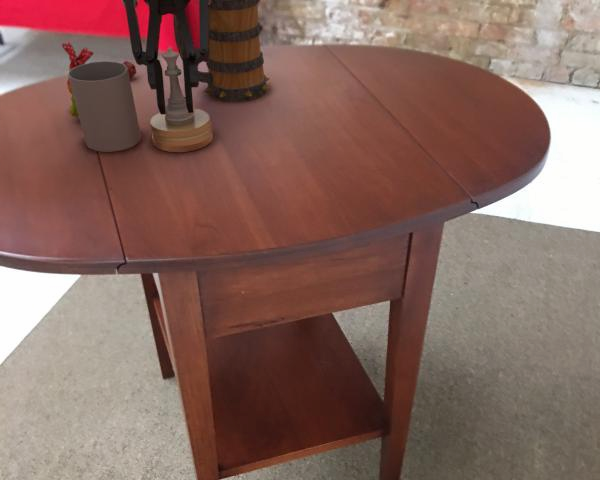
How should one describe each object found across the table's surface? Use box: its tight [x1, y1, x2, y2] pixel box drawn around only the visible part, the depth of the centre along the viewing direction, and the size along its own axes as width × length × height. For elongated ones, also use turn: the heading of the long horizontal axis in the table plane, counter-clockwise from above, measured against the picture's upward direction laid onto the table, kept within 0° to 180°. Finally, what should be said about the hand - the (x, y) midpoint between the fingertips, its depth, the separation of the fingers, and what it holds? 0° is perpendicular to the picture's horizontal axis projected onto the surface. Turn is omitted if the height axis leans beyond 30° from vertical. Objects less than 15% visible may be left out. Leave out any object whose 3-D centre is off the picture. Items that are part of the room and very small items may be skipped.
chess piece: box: [161, 46, 194, 125], centre depth 92 cm, size 4×4×10 cm
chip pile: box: [149, 107, 214, 153], centre depth 97 cm, size 10×9×3 cm
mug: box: [172, 0, 271, 103], centre depth 104 cm, size 13×17×20 cm
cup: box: [67, 60, 142, 153], centre depth 95 cm, size 8×8×10 cm
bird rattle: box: [61, 42, 94, 118], centre depth 103 cm, size 6×11×9 cm
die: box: [121, 60, 137, 79], centre depth 116 cm, size 3×3×3 cm
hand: (175, 108), depth 91 cm, fingers open, 3 cm apart
